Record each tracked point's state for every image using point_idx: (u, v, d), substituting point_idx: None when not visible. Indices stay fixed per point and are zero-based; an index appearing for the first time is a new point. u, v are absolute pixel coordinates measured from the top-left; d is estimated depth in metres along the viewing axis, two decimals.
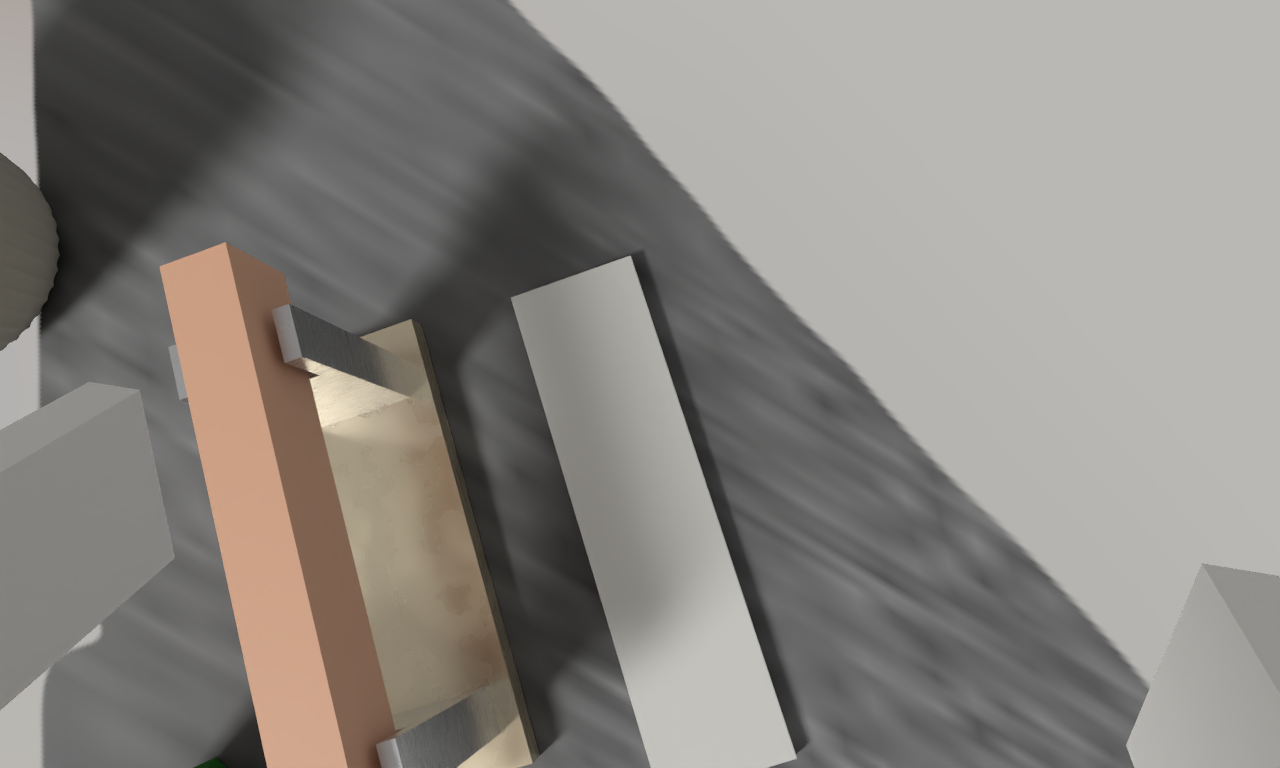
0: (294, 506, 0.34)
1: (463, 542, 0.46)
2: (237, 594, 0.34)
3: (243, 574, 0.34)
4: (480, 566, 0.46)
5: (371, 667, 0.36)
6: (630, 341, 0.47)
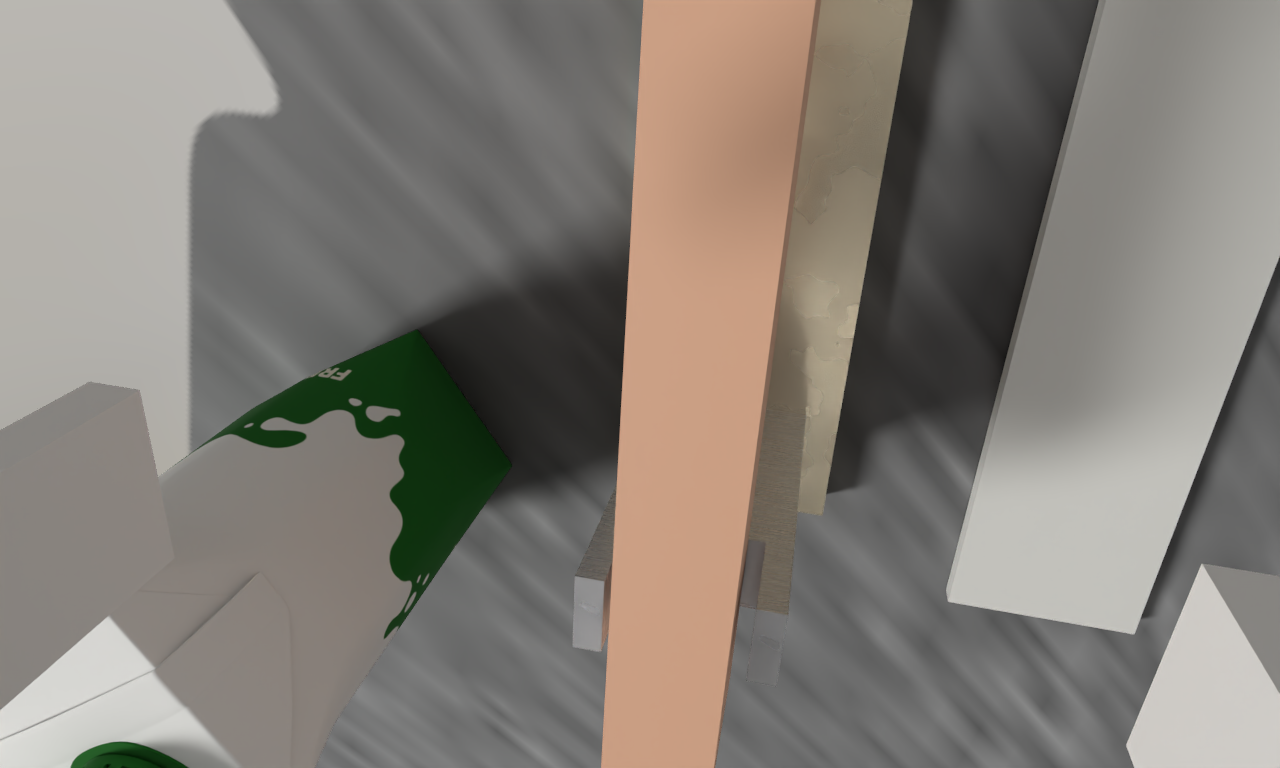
0: (782, 257, 0.18)
1: (859, 225, 0.29)
2: (635, 368, 0.19)
3: (658, 343, 0.18)
4: (865, 266, 0.30)
5: None
6: None
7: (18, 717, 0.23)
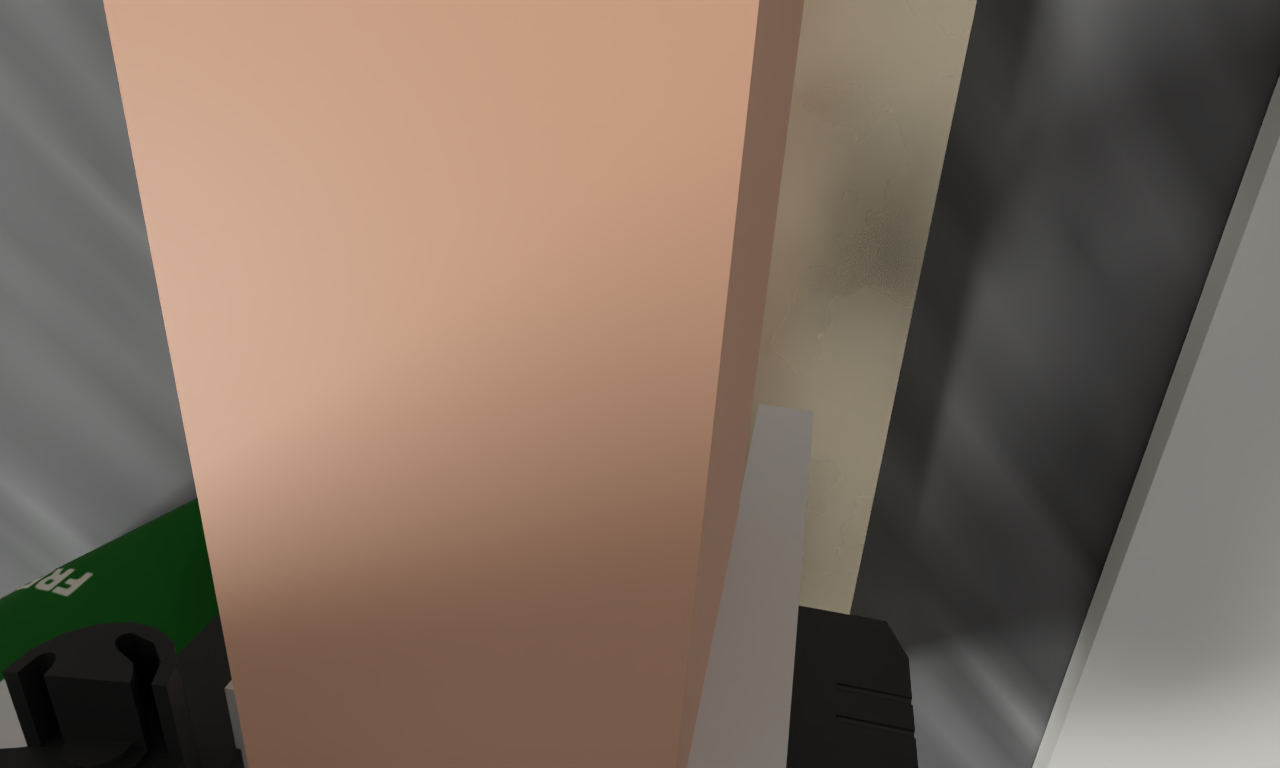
0: None
1: (874, 377, 0.18)
2: None
3: None
4: (884, 438, 0.19)
5: None
6: None
7: None
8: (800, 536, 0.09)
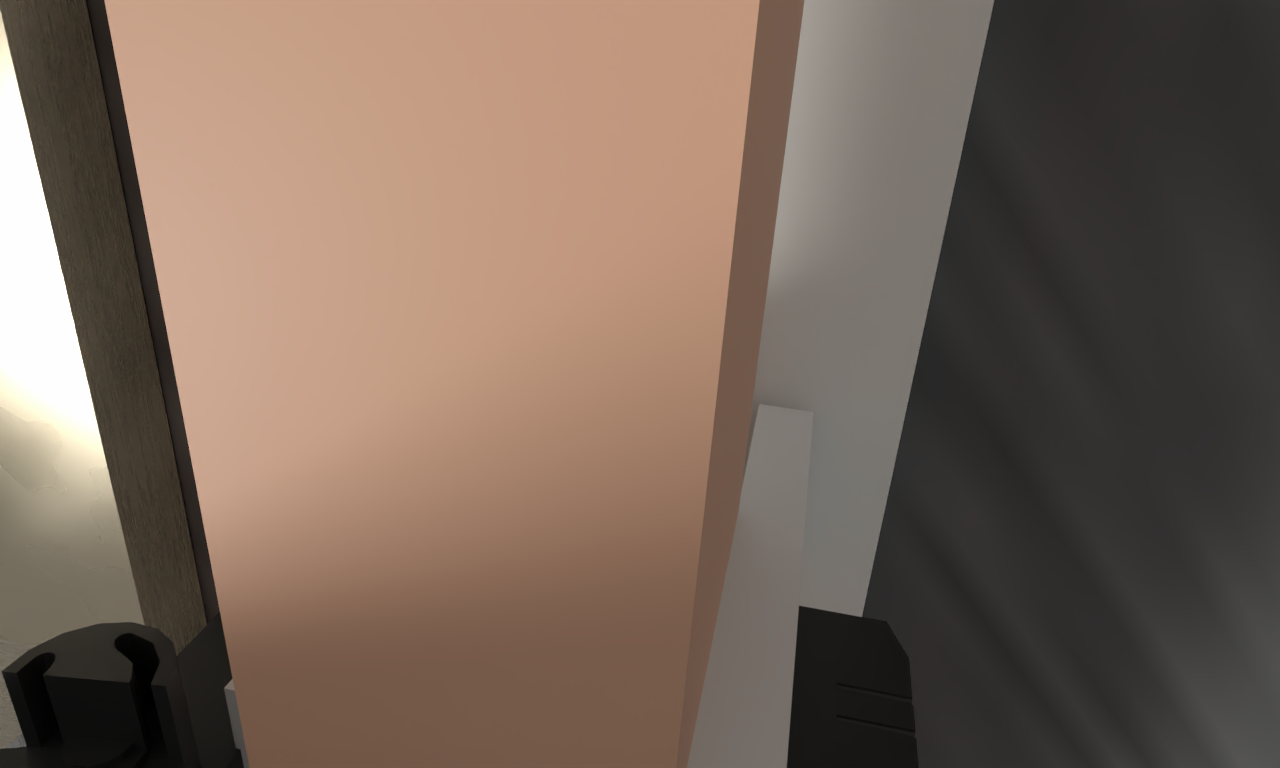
0: (683, 767, 0.06)
1: (45, 311, 0.14)
2: None
3: None
4: (101, 393, 0.14)
5: None
6: None
7: None
8: (800, 536, 0.09)
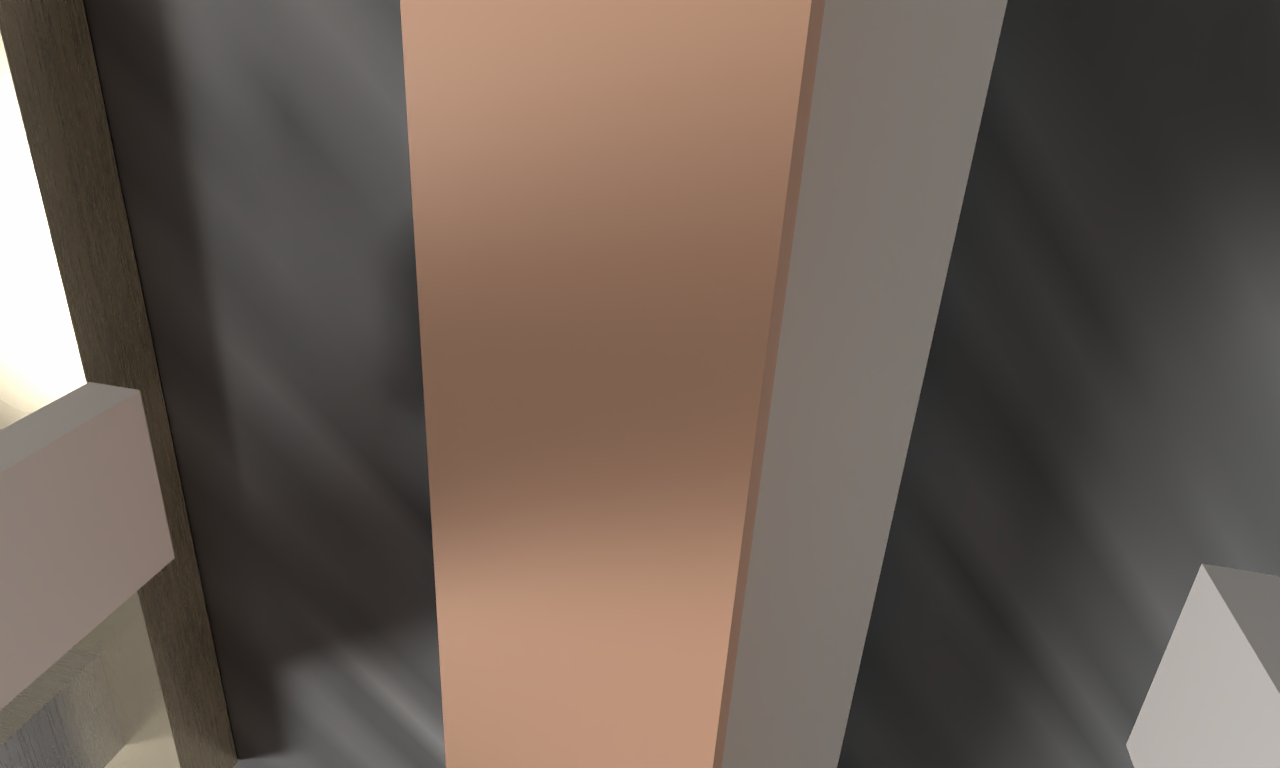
0: (747, 519, 0.08)
1: (40, 299, 0.13)
2: (465, 707, 0.10)
3: (503, 668, 0.09)
4: None
5: (722, 759, 0.14)
6: None
7: None
8: None
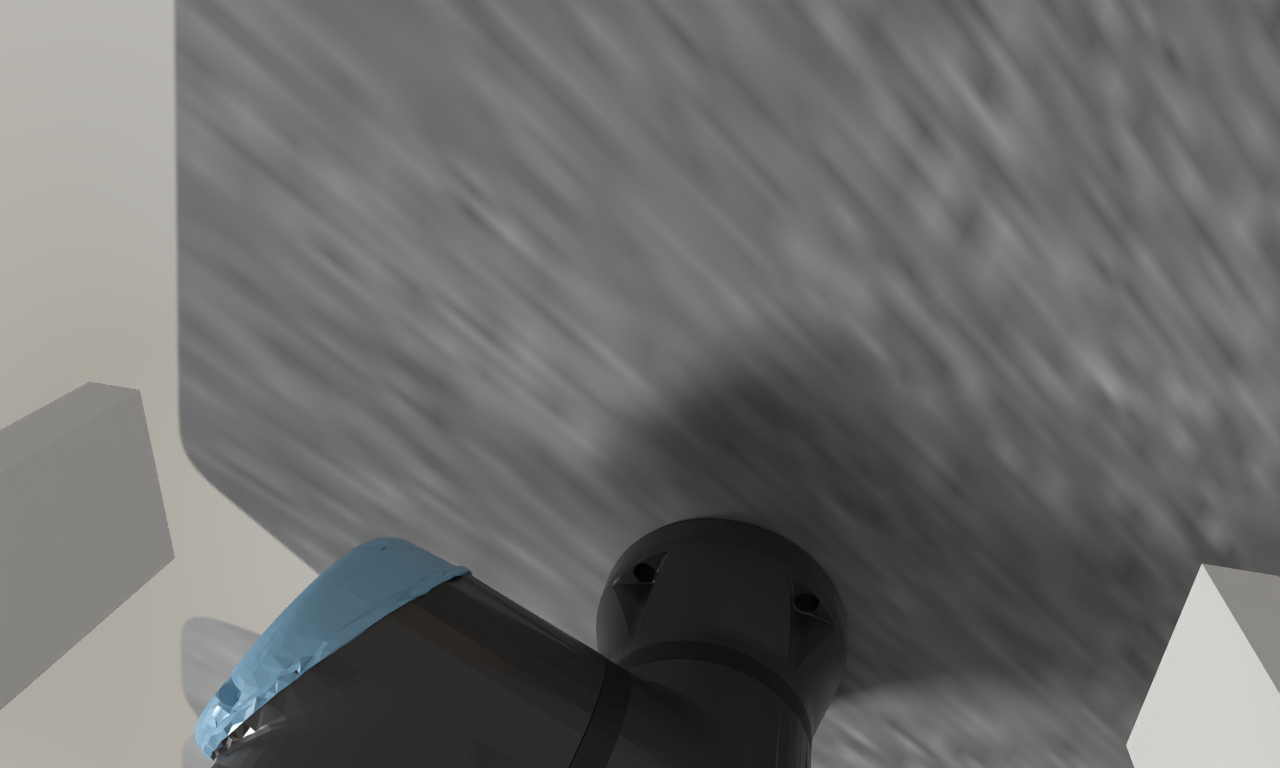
0: None
1: None
2: None
3: None
4: None
5: None
6: None
7: None
8: None
